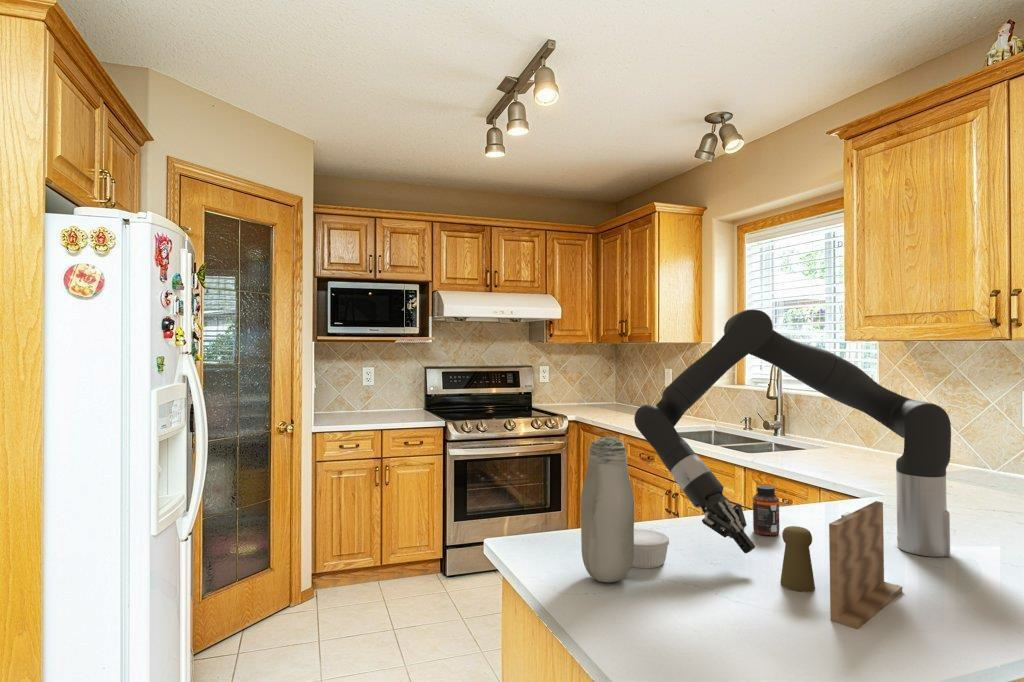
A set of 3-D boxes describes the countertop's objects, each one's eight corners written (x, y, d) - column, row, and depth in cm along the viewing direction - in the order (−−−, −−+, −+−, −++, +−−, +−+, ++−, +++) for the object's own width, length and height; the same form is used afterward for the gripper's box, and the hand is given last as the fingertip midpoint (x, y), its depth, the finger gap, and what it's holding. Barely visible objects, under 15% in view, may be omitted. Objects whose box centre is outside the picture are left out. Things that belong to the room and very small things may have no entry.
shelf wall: (877, 585, 113) (875, 501, 113) (902, 591, 110) (901, 505, 110) (830, 619, 99) (829, 523, 99) (858, 628, 96) (856, 529, 96)
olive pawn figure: (774, 579, 116) (773, 523, 116) (803, 578, 116) (802, 522, 117) (791, 592, 110) (790, 533, 110) (822, 591, 110) (821, 532, 111)
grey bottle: (623, 593, 110) (621, 442, 110) (573, 582, 115) (572, 438, 116) (641, 576, 118) (640, 436, 119) (594, 566, 124) (593, 432, 124)
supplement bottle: (782, 537, 142) (781, 490, 142) (755, 536, 143) (755, 489, 143) (776, 530, 148) (775, 484, 148) (751, 528, 149) (750, 483, 149)
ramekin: (605, 556, 130) (605, 532, 130) (647, 549, 134) (647, 526, 134) (635, 574, 120) (635, 548, 120) (680, 566, 124) (679, 540, 124)
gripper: (689, 474, 123) (746, 548, 114) (723, 466, 132) (778, 533, 123) (668, 495, 127) (721, 568, 118) (702, 485, 136) (754, 552, 127)
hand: (750, 550), depth 120 cm, fingers closed
